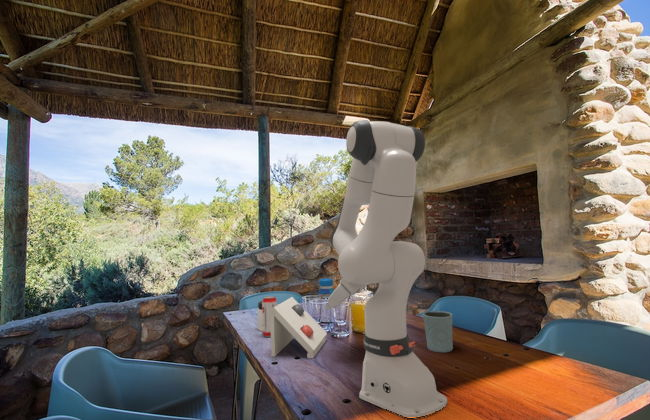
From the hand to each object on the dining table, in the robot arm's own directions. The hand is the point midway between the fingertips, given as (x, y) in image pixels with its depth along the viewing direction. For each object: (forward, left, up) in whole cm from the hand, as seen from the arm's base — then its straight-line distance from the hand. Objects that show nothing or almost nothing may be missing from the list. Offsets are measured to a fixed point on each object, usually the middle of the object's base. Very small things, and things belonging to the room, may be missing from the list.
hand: (327, 307), depth 121 cm
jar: (+42, +6, -16) cm, 46 cm away
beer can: (+32, +9, -16) cm, 37 cm away
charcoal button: (+15, +4, -5) cm, 16 cm away
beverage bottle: (+36, -22, -16) cm, 46 cm away
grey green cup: (-21, -33, -16) cm, 42 cm away
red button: (+5, +6, -11) cm, 13 cm away
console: (+10, +6, -15) cm, 19 cm away
